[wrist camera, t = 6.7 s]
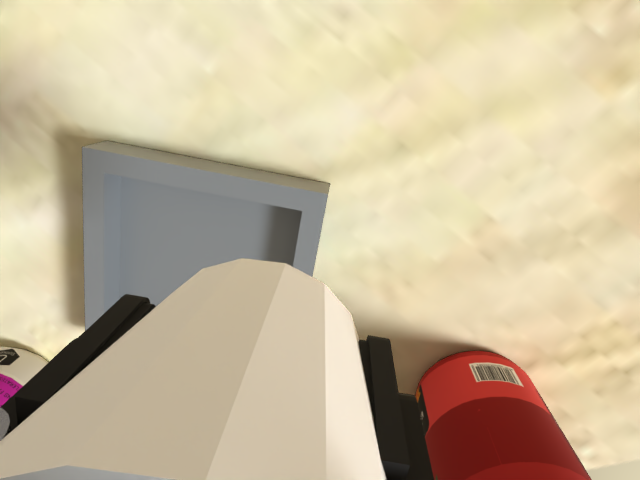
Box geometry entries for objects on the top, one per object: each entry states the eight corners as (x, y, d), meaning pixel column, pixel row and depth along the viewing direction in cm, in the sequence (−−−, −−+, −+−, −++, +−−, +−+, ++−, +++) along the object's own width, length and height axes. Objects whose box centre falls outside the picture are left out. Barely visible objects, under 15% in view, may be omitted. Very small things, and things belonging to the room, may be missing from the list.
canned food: (391, 381, 30) (412, 537, 20) (496, 326, 28) (580, 468, 18) (447, 453, 32) (493, 630, 22) (549, 406, 30) (653, 577, 20)
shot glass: (164, 455, 13) (-21, 822, 7) (105, 244, 11) (-260, 482, 4) (391, 449, 13) (436, 848, 6) (379, 224, 10) (431, 469, 4)
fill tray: (106, 140, 26) (81, 146, 23) (330, 183, 26) (328, 194, 23) (106, 332, 30) (85, 353, 28) (294, 368, 30) (289, 393, 28)
